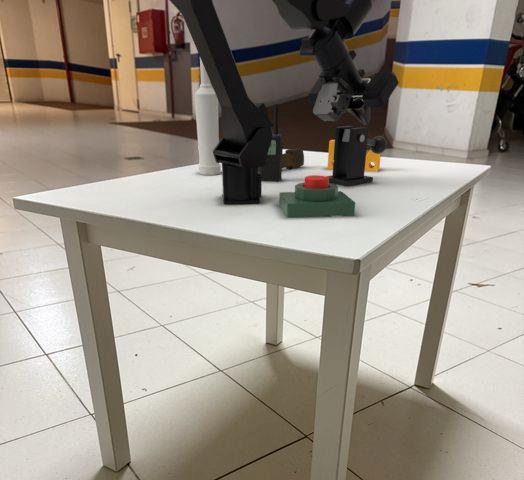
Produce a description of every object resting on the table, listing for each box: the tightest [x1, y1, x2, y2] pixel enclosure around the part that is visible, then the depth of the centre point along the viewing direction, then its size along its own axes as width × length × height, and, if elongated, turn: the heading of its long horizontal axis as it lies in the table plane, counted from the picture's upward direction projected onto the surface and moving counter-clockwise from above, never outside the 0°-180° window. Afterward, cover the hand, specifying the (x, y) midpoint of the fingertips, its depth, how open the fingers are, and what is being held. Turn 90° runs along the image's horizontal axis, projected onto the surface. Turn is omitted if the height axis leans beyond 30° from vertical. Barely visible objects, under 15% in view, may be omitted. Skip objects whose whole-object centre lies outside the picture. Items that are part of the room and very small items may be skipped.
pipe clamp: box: [327, 139, 381, 172], centre depth 119 cm, size 12×4×6 cm, turn 73°
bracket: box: [326, 125, 374, 188], centre depth 103 cm, size 8×7×11 cm
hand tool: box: [258, 147, 305, 172], centre depth 117 cm, size 19×4×5 cm, turn 135°
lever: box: [342, 129, 388, 155], centre depth 104 cm, size 12×4×4 cm, turn 128°
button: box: [303, 175, 329, 189], centre depth 81 cm, size 4×4×2 cm
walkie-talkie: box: [259, 103, 284, 183], centre depth 104 cm, size 5×3×15 cm
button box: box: [278, 182, 356, 219], centre depth 82 cm, size 11×9×4 cm
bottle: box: [193, 57, 222, 176], centre depth 110 cm, size 5×5×25 cm
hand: (367, 123), depth 102 cm, fingers closed
